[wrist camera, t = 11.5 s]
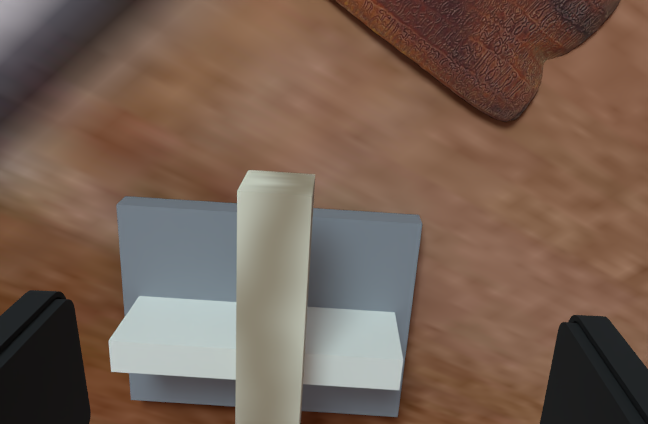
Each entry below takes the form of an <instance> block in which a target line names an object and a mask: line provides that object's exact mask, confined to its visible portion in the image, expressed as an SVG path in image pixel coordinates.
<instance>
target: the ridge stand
mask: <svg viewBox="0 0 648 424" xmlns="http://www.w3.org/2000/svg"><path fill="white" fill-rule="evenodd" d="M117 218H118V232H119V245H120V259H121V272H122V285H123V299H124V312H125V317H124V319H123V320H122V322H121V323H120V325H119V326H118V328H117V329H116V331H115V332H114V334H113V335H112V337H111V338H110V339H109V351H110V363H111V372H124V373H129V379H130V392H131V400H143V401H158V402H173V403H189V404H204V405H220V406H236V283H237V203H221V202H206V201H190V200H174V199H158V198H142V197H127V196H125V197H124V198H123V199H122V200H121V201H120V202H119V203H118V204H117ZM421 230H422V222H421V219H420V217H419V215H411V214H395V213H380V212H364V211H348V210H332V209H316V208H313V221H312V238H311V255H310V272H309V290H308V307H307V324H306V341H305V358H304V376H303V393H302V410H301V411H312V412H328V413H343V414H358V415H374V416H389V417H398V410H399V402H400V394H401V387H402V379H403V371H404V363H405V355H406V347H407V339H408V332H409V324H410V316H411V308H412V300H413V292H414V285H415V277H416V269H417V261H418V253H419V245H420V237H421Z"/></svg>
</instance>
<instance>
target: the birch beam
mask: <svg viewBox="0 0 648 424" xmlns="http://www.w3.org/2000/svg"><path fill="white" fill-rule="evenodd" d="M314 186H315V174H301V173H285V172H270V171H255V170H248V172H247V174H246V176H245V178H244V179H243V181H242V183H241V185H240V187H239V189H238V191H237V283H236V406H235V424H301V410H302V393H303V376H304V358H305V341H306V324H307V307H308V290H309V272H310V255H311V238H312V221H313V204H314Z"/></svg>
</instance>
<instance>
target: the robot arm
mask: <svg viewBox="0 0 648 424" xmlns="http://www.w3.org/2000/svg"><path fill="white" fill-rule="evenodd" d="M89 421H90V405H89V398H88V392H87V386H86V379H85V373H84V366H83V360H82V353H81V347H80V341H79V334H78V328H77V321H76V315H75V308H74V304H73V302H72V301H71V300H69V299H66V297H65V296H64V294H63V293H61V292H56V291H34V290H33V291H28V292H27V293H25V294H24V295H23V296H22V297H21V298H20V299H19V300H18V301H17V302H15V303H14V304H13V305H12V306H11V307H10V308H9V309H8V310H7V311H5V312H4V313H3V314H2V315H1V316H0V424H89ZM540 424H648V369H647V368H646V366H645V365H644V364H643V362H642V361H641V360H640V359H639V357H638V356H637V355H636V354H635V352H634V351H633V350H632V348H631V347H630V346H629V345H628V343H627V342H626V341H625V339H624V338H623V337H622V336H621V334H620V333H619V332H618V331H617V329H616V328H615V327H614V325H613V324H612V323H611V322H610V320H609V319H608V318H607V317H603V316H583V315H573V316H572V317H571V318H570V320H569V322H563V323H561V324H560V326H559V330H558V334H557V339H556V345H555V350H554V355H553V360H552V365H551V370H550V375H549V380H548V385H547V390H546V395H545V401H544V406H543V411H542V416H541V421H540Z"/></svg>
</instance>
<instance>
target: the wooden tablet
mask: <svg viewBox="0 0 648 424" xmlns="http://www.w3.org/2000/svg"><path fill="white" fill-rule="evenodd" d="M335 1H336V2H337V3H339V4H340V5H341V6H342V7H344V8H345V9H347V10H348V11H349V12H350V13H351V14H352V15H354V16H355V17H356V18H358V19H359V20H360V21H361V22H363V23H364V24H365V25H366V26H367V27H369V28H370V29H371V30H373V31H374V32H375V33H377V34H378V35H379V36H381V37H382V38H383V39H385V40H386V41H388V42H389V43H390V44H391V45H393V46H394V47H395V48H396V49H398V50H399V51H400V52H402V53H403V54H404V55H406V56H407V57H409V58H410V59H412V60H413V61H414V62H416V63H417V64H418V65H420V67H421V68H423V69H424V70H426V71H427V72H429V73H430V74H431V75H432V76H433V77H435V78H436V79H437V80H439V81H440V82H441V83H442V84H443V85H445V86H446V87H448V88H449V89H450V90H452V91H453V92H454V93H455V94H457V95H458V96H460V97H461V98H462V99H464V100H465V101H467V102H468V103H469V104H471V105H472V106H474V107H475V108H477V109H479V110H480V111H482V112H483V113H485V114H487V115H489V116H490V117H493V118H495V119H497V120H500V121H504V122H506V121H510V120H515V119H517V118H518V117H519V116H520V115H521V114H522V113H523V111H524V110H525V109H526V108H527V106H528V104H529V103H530V101H531V100H532V99H533V98H534V95H535V94H536V92H537V91H538V88H539V85H540V83H541V79H542V73H543V64H544V62H545V61H546V60H547V59H553V58H555V57H557V56H561V55H564V54H566V53H568V52H569V51H571V50H572V49H574V48H575V47H577V46H578V45H580V44H581V43H582V42H584V41H585V40H586V39H587V38H588V37H589V36H590V35H592V34H593V33H594V32H595V31H596V30H597V29H598V28H599V27H600V26H601V25H602V24H603V23H604V21H605V20H606V19H608V17H609V16H610V15H611V13H612V12H613V11H614V10H615V9H616V7H617V5H618V3H619V2H620V0H335Z"/></svg>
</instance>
